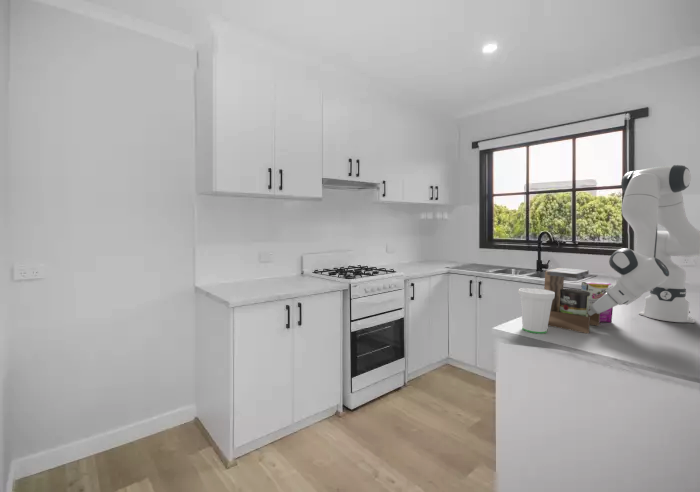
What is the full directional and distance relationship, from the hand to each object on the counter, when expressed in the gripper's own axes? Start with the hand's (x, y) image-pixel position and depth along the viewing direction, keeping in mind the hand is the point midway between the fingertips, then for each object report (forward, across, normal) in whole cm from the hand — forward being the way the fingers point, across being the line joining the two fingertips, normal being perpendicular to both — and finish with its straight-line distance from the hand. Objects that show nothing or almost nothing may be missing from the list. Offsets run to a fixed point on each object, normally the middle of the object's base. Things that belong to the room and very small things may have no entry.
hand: (589, 313), depth 143 cm
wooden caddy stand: (+8, 0, 0) cm, 8 cm away
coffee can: (+8, 0, 0) cm, 8 cm away
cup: (+14, +20, -5) cm, 25 cm away
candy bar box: (+5, -16, +3) cm, 17 cm away
